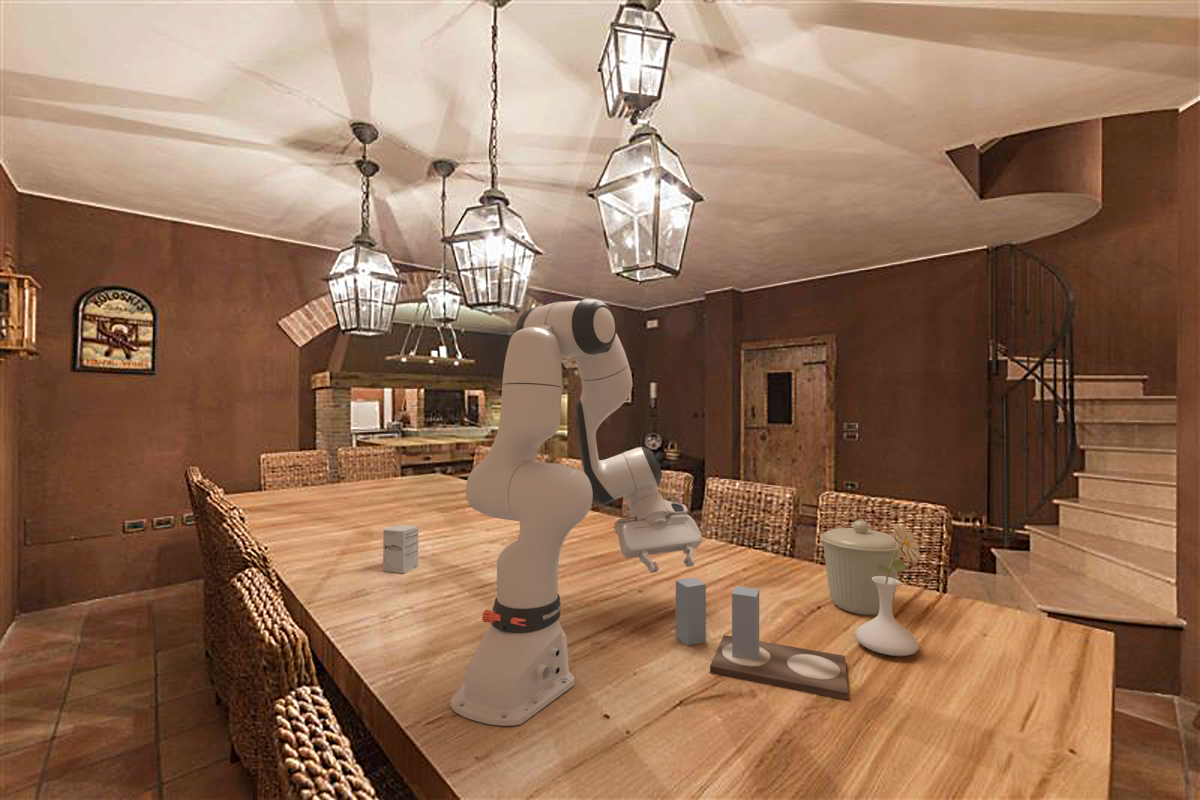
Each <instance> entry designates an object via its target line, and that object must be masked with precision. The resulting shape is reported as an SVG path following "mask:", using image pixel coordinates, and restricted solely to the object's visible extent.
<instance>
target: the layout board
mask: <svg viewBox="0 0 1200 800" xmlns="http://www.w3.org/2000/svg"><path fill="white" fill-rule="evenodd" d="M709 673H712V674H716V675H721V676H725V677H731V678H736V679H740V680H746V681H751V682H756V683H759V684H767V685H771V686H776V687H780V688H786V689H790V690H796V691H800V692H805V693H810V694H811V693H812V694H816V695H821V696H825V697H830V698H834V699H839V700H844V701H845V700H846V701H849V695H848V694H849V691H848V689H849V688H848V677H847V665H846V655H844V654H836V653H830V652H827V651H826V652H825V651H821V650H815V649H814V650H812V649H809V648H803V647H802V648H801V647H796V646H790V645H784V644H779V643H773V642H766V641H761V640H759V654H758V658H757V661H753V660H747V659H742V658H736V657H732V635H726V634H723V635H722V638H721V640H720V642H719V644H718V647H717V648H716V651H715V654H714V657H713V658H712V660H711V663H710V665H709Z"/></svg>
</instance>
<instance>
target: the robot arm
mask: <svg viewBox="0 0 1200 800" xmlns="http://www.w3.org/2000/svg"><path fill="white" fill-rule="evenodd" d="M563 358H564V359H565V358H568V359H569V358H574V359H575V363H576V367H577V371H578V374H579V377H580V381H581V394H580V398H579V399H578V400H577V402H575V406H574V418H575V424H576V433H577V442H578V448H579V454H580V460H581V467H582V468H581V469H582V470H580V469H578V468H575V467H572V466H568V465H566V464H561V463H552V462H537V461H536V460H537V456H538V452H539V450H540V447H541V446H542V445H543V444H544V442H546V441H547V440H549V439H551V438H553V437H554V436H555V435H556V434H557V433H558V432H559V429H560V427H561V421H562V420H561V419H562V418H561V417H562V394H563V367H562V361H563V360H564V359H563ZM631 371H632V370H631V368H630V363H629V361H628V357H627V355H626V351H625V349H624V347H623V345H622V342H621V340H620V338H619V336H618V334H617V322H616V317H615V315H614V313H613V311H612V309H611V308H610V307H609V306H608V305H607V304H606V303H605V302H604V301H602V300H600V299H594V298H593V299H591V298H585V299H581V300H571V301H570V300H569V301H556V302H552V303H548V304H545V305H541V306H534V307H531V308H529V309H527V310H526V311H524V312H522V313H521V315H520V316H519V318H518V319H517V322H516V325H515V331H514V333H513V334H512V336H511V337H510V339H509V342H508V346H507V351H506V355H505V359H504V366H503V373H502V383H501V385H502V386H501V388H502V389H501V400H500V411H499V422H498V428H497V431H496V434H495V438H494V441H493V443H492V444H491V447H490V449H489V451H488V453H487V454H486V455H485V457H484V458H483V459H482V460H481V461H480V462H479V463H477V465H476V466H474V468H473V469H471V471H470V473H469V475H468V476H467V480H466V484H465V496H466V500H467V503H468V504H469V506H470V507H471V508H472V510H473V509H474V511H476V512H479V513H480V514H482V515H486V516H488V517H491V518H493V519H500V520H507V521H514V522H519V532H518V536H517V539H516V540H515V541H513V542H511V543H510V544H508V545H507V546H505V547H504V548H503V550H502V551H501V552H500V553H499V555H498V557H497V560H496V597H495V599H494V603H493V606H492V609H491V610H489V609H485V610H484V611H483V613H482V615H481V621H482V622H483V623H490V626H489V628H488V629H487V631H486V633H485V634H484V636H483V638H482V639H481V641H480V643H479V645H478V646H477V648H476V649H475V651H474V653H473V655H472V656H471V658H470V659H469V662H468V663H467V666H466V672H465V680H464V681H465V682H464V683H463V684H462V685H461V686H460V687H459V689H458V690H457V691H456V692H455V693H454V694H453V695H452V696H451V698H450V699H449V700H450V701H449V707H450V709H452V710H453V711H454V712H455V713H456V714H457V715H459V716H462V717H464V718H466V719H468V720H473V721H475V722H478V723H483V724H487V725H491V726H492V725H493V726H501V727H502V726H503V727H504V726H505V727H507V726H509V727H510V726H519V725H522V724H523V723H525V722H526V721H527V720H529V719H530V718H532V717H533V716H534V715H536V714H537V713H538V712H540V711H541V710H542V709H544V708H545V707H546V706H548V705H550V704H551V703H552V702H553V701H554V700H556V699H557V698H559V697H560V696H562V695H563V694H564V693H565V692H566V691H569V690H570V689H571V688H572V687H573V686H575V684H576V681H575V679H576V678H575V676H574V675H573V673H572V672H570V668H569V656H568V644H567V635H566V633H565V632H564V629H563V627H562V625H561V622H560V620H559V619H560V618H561V617H560V616H561V608H562V604H561V603H562V602H561V596H560V594H559V593H558V592H559V588H558V587H559V586H558V585H559V562H560V555H561V550H562V548H563V545H564V542H565V539H566V538H567V536H568V535H569V533H570V532H571V531H572V529H573V528H574V527H575V526H577V525H578V524H580V523H581V522H583V520H584V519H585V518H586V516H587V515H588V513H589V512H590V510H591V507H592V504H593V503H594V504H597V505H600V506H605V505H608V504H610V503H613V502H614V501H616V500H617V499H620V498H624V500H625V501H626V503H627V504H628V512H629V514H630V515H631V516H630V517H627V518H619V519H618V520H617V521H615V523H614V525H613V528H614V530H615V534H616V535H617V536H618V537H617V538H618V543H619V547H620V548H619V549H620V550H621V554H622V556H623V557H625V558H626V559H632V558H639V560H640V562H641V563H642V564H643V565H645V567H647V569H648V572H649V573H650V574H653V573H654V574H655V573H657V572H658V571H659V566H658V564H657V561H653V560H651V558H650V557H649V556H653V555H654V556H655V555H660V554H667V553H668V554H669V553H675V552H681V551H683V553H684V555H686V557H685V559H684V560H683V564H684V565H685V567H686V568H691V567H694V565H695V560H694V558H693V554H694V550H695V549H697V548H698V547H699V546H700V545H701V543H702V542H703V535H702V533H701V530H700V528H699V527H698V525H697V523H696V520H694V519H693V517H692V516H690V515H689V514H688V511H689V510H688V507H687V505H685V504H683V503H677V502H674V501H673V502H672V501H669V500H667V499H664V498H663V495H662V494H661V493H660V492H659V489H658V487H659V486H660V483H661V481H662V478H663V472H662V468H661V467H660V465H659V463H658V461H657V459H656V457H655V454H654V452H653V451H652V450H650V449H649V448H646V447H643V446H640V447H635V448H633V449H630V450H626V451H624V452H622V453H619V454H617V455H614V456H611V457H609V458H605V459H602V460H601V459H600V458H599V452H598V446H597V438H596V437H597V434H596V433H597V431H598V429H599V427H600V426H601V424H602V423H603V422H604V421H605V420H606V419H607V418H608V417H610V416H611V414H613V413H614V412H615V411H617V410H618V409H619V408H620V407H621V406H623V405H624V404H625V402H626V401H627V399H629V396H630V395H631V392H632V388H633V385H634V383H633V377H632V372H631Z"/></svg>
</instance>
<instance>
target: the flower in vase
mask: <svg viewBox="0 0 1200 800" xmlns="http://www.w3.org/2000/svg"><path fill="white" fill-rule="evenodd" d="M892 536H893V538H894V542H895V544H897V546H896V547H897V549H896V551H895V553H894V555H893V558H892V561H891V564H890V567H889V569H888V568H886V567H884V566H882V565H881V564H880V566H879V568H878V570H879V571H882V572H886V573H887V577H885V576H875V577H872V580H873V581H874V583H875V584H876V586H877V589H878V593H879V599H880V610H879V614H878V615H876V616H875V617H874V618H872V619H871V620H868V621H866V622H865V623H863V624H861V625H860V626H858V627H857V628H856V630H855V633H854V636H855V639H856V641H857V642H858V643H859V644H860V645H862V646H863V647H865V648H867V649H868V650H871V651H873V652H876V653H878V654H882V655H885V656H887V655H888V656H893V657H903V656H910V655H913V654H916V652H917V651H919V650H920V644H919V643H918V640H917V639H916V638H915V636H914V635H913V634H912V633H911V632H910V631H909V630H908V629H906V628H905V627H904V626H903V625H901V624H900V622H898V621H897V620H896V618H895V616H894V614H893V606H892V600H893V594H894V591H895V592H896V590H895V589H897V587H898V586H899V585H900V584H901V581H900V580H898V578H897V579H894V578H891V577H889V573H890V572H891V571H892V570H891V567H892V565H893V567H894V568H895V569H896V570H897V571H898V573H903V572H905V571H906V569H907V566H906V563H905V562H903V560H901V559H900V558H899V559H895V560H894V558H895V555H896V553H897V551H900V556H902V557H903V559H904V560H908V561H909V563H910V562H912V563H914V564H915V563H918V559H921V552H920V550H919V549H920V547H921V546H920V545H919V544H918V543H917V540H916V539H915V538H914V534H913V532H911V531H910V532H909V531H908V529H907V528H906V526H905V525H904V524H900V525H899V524H898V523H896V524H895V525H894V526H893V529H892ZM893 561H894V562H893Z"/></svg>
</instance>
